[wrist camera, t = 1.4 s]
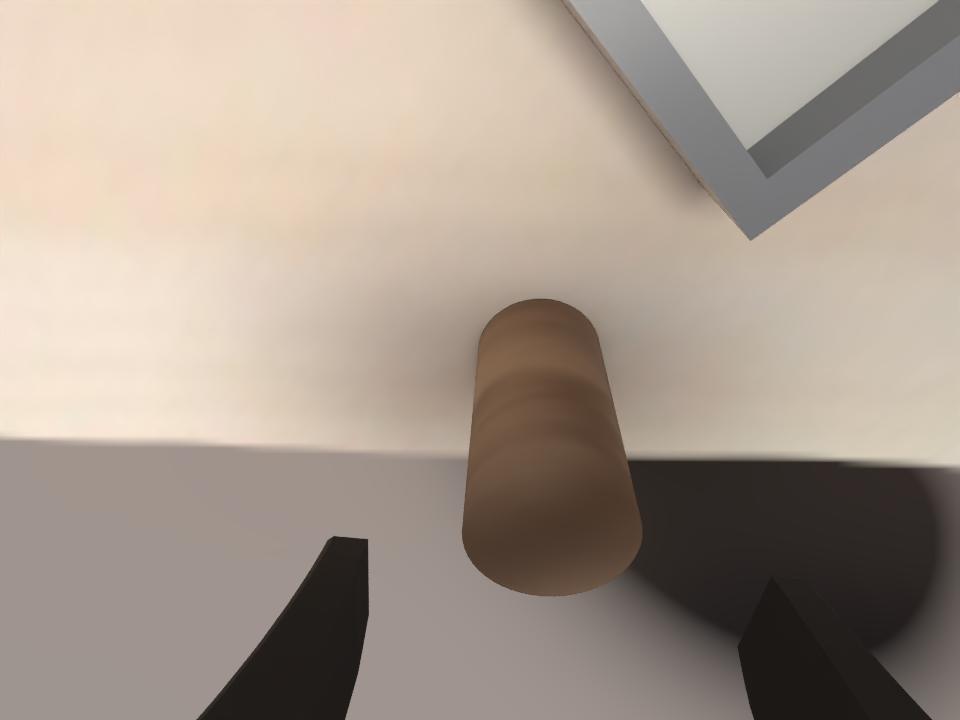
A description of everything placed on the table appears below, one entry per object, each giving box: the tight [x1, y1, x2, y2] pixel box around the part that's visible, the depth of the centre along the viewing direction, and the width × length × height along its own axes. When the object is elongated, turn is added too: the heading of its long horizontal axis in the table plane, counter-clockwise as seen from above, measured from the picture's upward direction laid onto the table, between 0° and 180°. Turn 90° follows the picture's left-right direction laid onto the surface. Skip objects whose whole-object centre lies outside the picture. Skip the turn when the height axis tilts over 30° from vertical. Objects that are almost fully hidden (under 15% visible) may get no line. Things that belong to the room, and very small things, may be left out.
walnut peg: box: [462, 299, 643, 596], centre depth 18 cm, size 4×4×8 cm
